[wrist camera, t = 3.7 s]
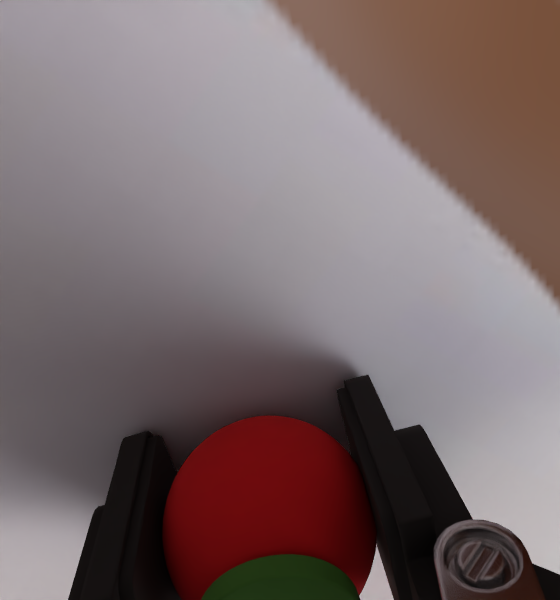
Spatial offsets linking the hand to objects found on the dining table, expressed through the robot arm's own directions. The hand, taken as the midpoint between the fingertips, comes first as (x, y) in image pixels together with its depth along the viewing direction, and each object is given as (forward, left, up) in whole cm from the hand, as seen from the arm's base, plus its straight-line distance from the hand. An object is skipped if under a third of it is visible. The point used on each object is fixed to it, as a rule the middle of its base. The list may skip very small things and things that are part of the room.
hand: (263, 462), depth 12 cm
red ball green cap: (0, 0, 0) cm, 0 cm away
